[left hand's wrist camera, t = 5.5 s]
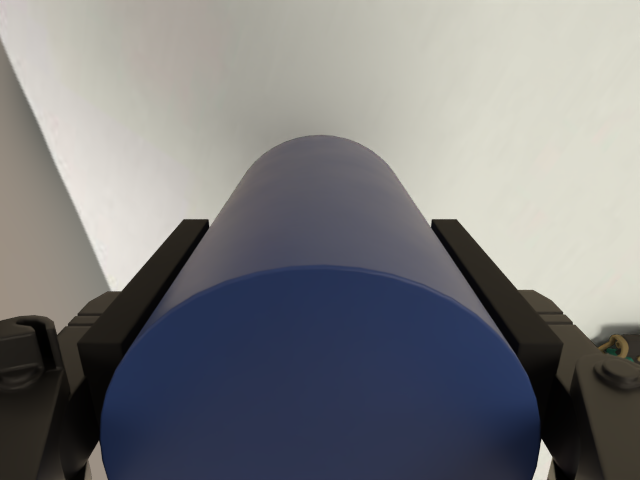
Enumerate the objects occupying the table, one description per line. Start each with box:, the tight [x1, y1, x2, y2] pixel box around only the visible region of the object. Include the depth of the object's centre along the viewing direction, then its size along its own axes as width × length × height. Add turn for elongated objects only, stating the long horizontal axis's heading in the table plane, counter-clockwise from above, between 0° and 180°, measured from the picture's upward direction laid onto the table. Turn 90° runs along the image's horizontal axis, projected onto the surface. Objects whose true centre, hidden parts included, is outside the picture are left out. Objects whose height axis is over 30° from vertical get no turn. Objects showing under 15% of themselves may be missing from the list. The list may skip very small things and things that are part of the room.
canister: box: [100, 135, 540, 480], centre depth 12 cm, size 7×7×11 cm
